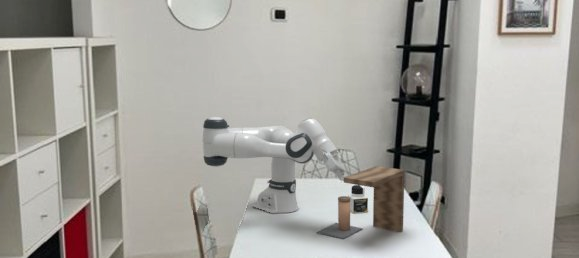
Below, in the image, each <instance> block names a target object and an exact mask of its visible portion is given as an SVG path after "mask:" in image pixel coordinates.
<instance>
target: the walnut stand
mask: <svg viewBox="0 0 579 258" xmlns="http://www.w3.org/2000/svg"><path fill="white" fill-rule="evenodd" d="M343 183H346V184H350V185H361V186H364V187H369V188H373V203H372V204H373V207H372V210H373V211H372V212H373V213H372V214H373V218H372V219H373V220H372V227H374V228H380V229H383V230H384V229H385V230H389V231H393V232H398V233H402V232H403V231H404V211H405V208H404V207H405V206H404V205H405V203H404V202H405V200H404V199H405V198H404V197H405V169H401V168H400V169H399V168H392V167H387V166H386V167H385V166H380V165H379V166H378V165H376V166H373V167H370V168H367V169H364V170H362V171H358V172H356V173H353V174H351V175H346V177H344V181H343Z"/></svg>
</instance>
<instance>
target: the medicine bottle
mask: <svg viewBox="0 0 579 258" xmlns="http://www.w3.org/2000/svg"><path fill="white" fill-rule="evenodd" d="M365 188H366V186H361V185H355V184H353V185H352V186H351V194H348V195H347V197H350V213H352V214H362V213H364V212H365V213H368V212H369V211H368V206H369V205H368V204H369V202H368V201H369V198H368V196H366V195H365V191H366V189H365Z"/></svg>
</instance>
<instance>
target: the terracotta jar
mask: <svg viewBox="0 0 579 258" xmlns="http://www.w3.org/2000/svg"><path fill="white" fill-rule="evenodd" d="M337 223H338V229H339V230H341V231H348V230H350V226H351V211H350V197H348V195H346V196H344V195H342V196H338V197H337Z"/></svg>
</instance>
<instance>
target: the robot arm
mask: <svg viewBox="0 0 579 258" xmlns="http://www.w3.org/2000/svg"><path fill="white" fill-rule="evenodd" d="M202 127H203V133H202V143H203V144H202V147H203V148H202V149H203V160H204V163H205V164H206V166H210V167H212V168H218V167H221V166H224V165H225V164H226V163H227V162H228V158H230V159H254V158H256V159H257V158H267V157H268V158H271V167H270V168H271V178H270V179H268V180H266V184H268V186H267V187H266V188H265V189H263V190H262V191H261V192H260V193H259V194H258V196H257V201H256V202H255V203H253V204H252V207H253V206H254V207H256V208H255V209H257V208H259V209H258V210H260V209H262V210H261V211H263V210H265V211H264V212H266V211H267V213H269V212H270V213H269V214H281V213H282V214H284V213H285V214H286V213H292V212H293V213H294V212H297V211H298V210H299V205H298V201H297V193H296V189H297V179H296V163H297V164H301V165H303V164H307V163H309V162H310V161H311V160H312V159H313V158H314V156H315V157H316V159H317V160H318V162H319V163H321V162H323V164H324V165H326V167H327V168H328V170H329V171H330V172H332V173H333V174H335V175H336V177H338V180H340V181H341V182H342V181H343V182H344V177H347V175H346V173H345V171H346V168H345V167H344V164H343V163H342V161H341V159H340V157H339V155H338V154H339V153H338V148H337V147H336V145H335V144H334V143H333V141H332V139H330V138H329V137H328V135H327V132H326V131H325V129H324V128H323V126H322V125H321V123H320V122H318V120H316V119H315V118H306V119H304V120H302V121H301V122H299V124H298V125H297V129H296V131H295V132H293V130H291V129H289V128H288V127H287V126H284V125H272V126H271V125H270V126H269V125H268V126H260V127H258V126H257V127H253V126H250V127H230V125H229V124H228V122H227V120H225V118H222V117H219V116H210V117H209V118H206V119H205V120H204V121H203V125H202ZM254 207H253V208H254Z"/></svg>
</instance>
